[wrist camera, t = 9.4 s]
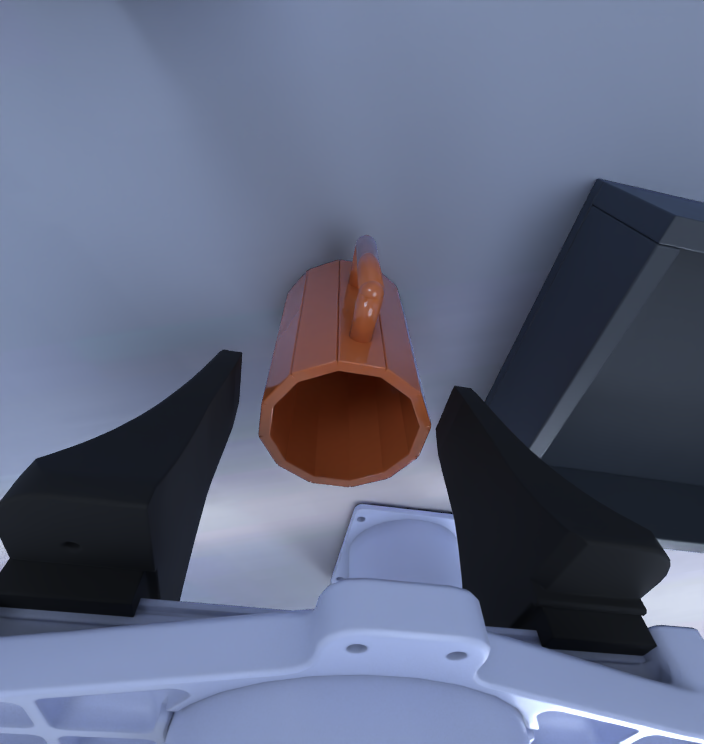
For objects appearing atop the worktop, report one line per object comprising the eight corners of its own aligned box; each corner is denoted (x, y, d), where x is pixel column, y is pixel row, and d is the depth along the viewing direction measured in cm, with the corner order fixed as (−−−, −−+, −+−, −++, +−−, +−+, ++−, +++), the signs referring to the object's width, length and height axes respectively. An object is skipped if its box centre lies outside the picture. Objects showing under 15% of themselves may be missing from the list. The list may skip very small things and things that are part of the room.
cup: (386, 371, 20) (403, 494, 14) (279, 355, 19) (254, 476, 14) (430, 230, 16) (476, 323, 11) (299, 204, 16) (273, 286, 10)
